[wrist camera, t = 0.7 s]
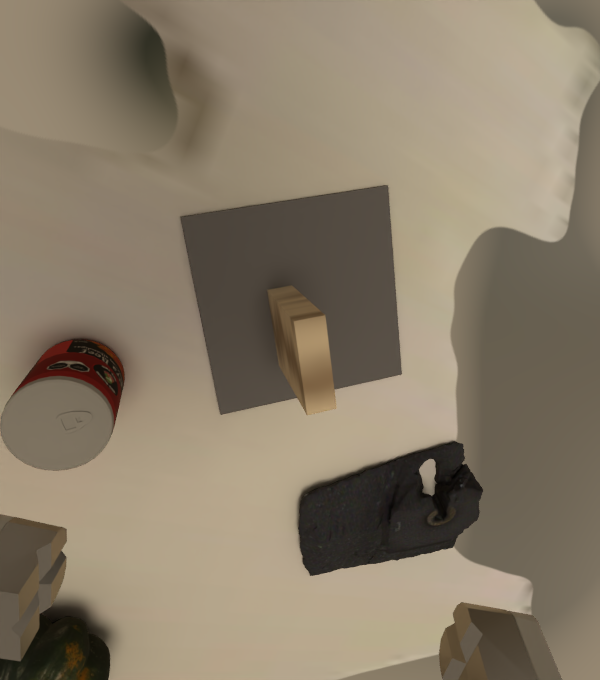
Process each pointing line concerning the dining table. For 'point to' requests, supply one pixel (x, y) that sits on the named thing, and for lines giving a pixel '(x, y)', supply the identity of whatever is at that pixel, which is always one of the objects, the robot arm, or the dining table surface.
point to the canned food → (64, 406)
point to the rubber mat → (304, 275)
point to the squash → (60, 654)
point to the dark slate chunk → (388, 512)
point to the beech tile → (303, 348)
